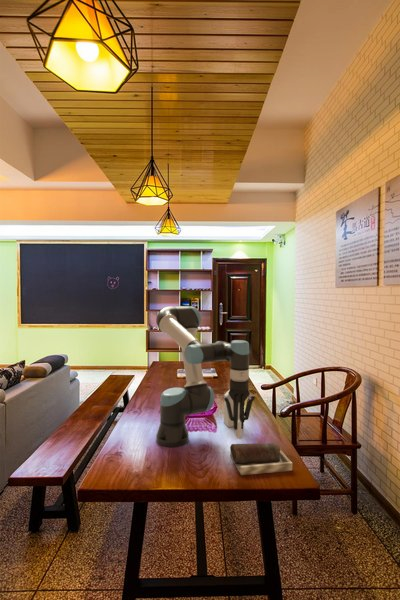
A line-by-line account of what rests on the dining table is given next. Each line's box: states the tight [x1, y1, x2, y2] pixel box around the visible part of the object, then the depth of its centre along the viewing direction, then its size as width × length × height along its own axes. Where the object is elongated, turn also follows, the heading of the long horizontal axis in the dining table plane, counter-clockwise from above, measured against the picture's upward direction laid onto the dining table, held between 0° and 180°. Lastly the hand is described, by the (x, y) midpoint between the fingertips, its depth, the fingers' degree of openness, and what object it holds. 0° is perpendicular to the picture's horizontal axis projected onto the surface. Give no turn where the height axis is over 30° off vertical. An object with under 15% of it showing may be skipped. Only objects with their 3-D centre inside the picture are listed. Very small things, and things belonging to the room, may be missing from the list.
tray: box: [229, 449, 293, 476], centre depth 133 cm, size 21×15×3 cm
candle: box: [229, 442, 281, 465], centre depth 133 cm, size 8×7×20 cm
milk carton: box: [223, 388, 240, 428], centre depth 171 cm, size 7×7×19 cm
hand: (238, 436), depth 131 cm, fingers closed
